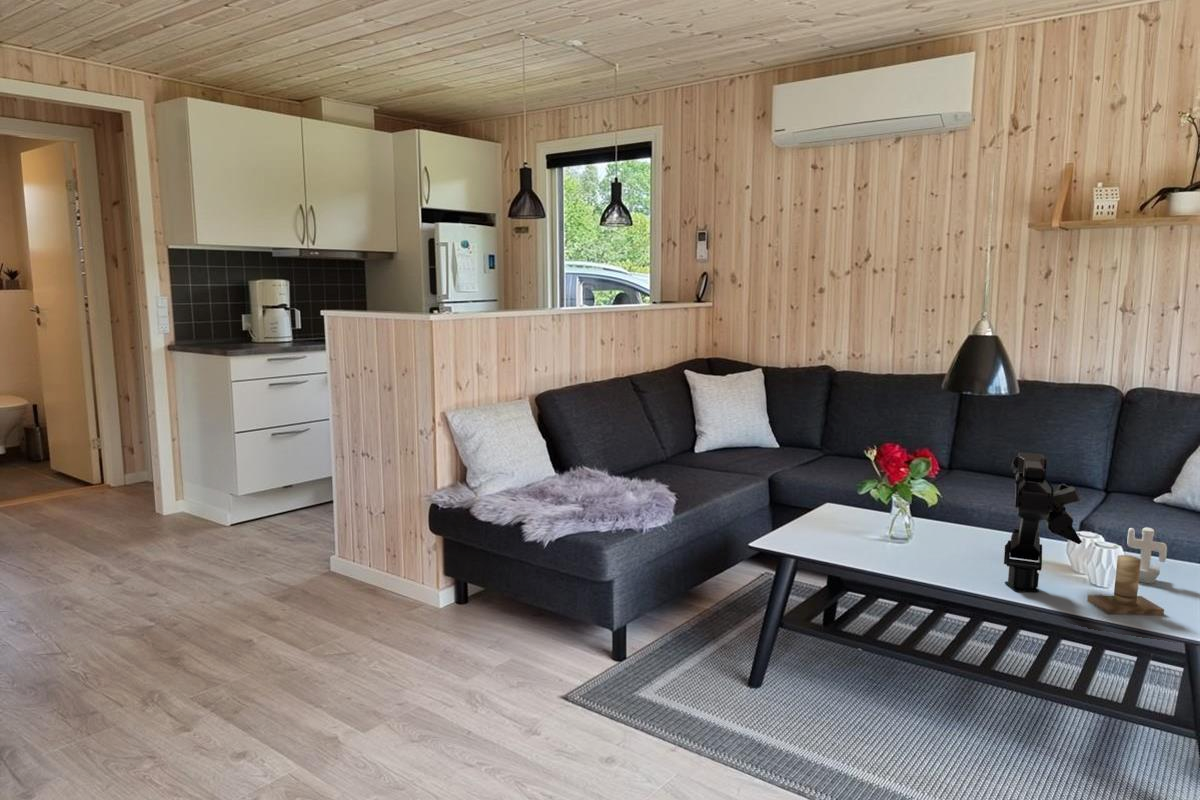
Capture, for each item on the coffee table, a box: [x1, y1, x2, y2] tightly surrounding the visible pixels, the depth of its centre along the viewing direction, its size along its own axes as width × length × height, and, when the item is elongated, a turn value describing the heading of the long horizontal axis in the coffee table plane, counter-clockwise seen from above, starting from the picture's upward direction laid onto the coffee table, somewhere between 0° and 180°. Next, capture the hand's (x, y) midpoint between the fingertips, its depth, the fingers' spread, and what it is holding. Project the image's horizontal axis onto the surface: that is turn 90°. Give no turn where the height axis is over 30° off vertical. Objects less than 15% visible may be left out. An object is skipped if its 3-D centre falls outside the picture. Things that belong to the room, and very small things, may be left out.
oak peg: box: [1113, 554, 1141, 606], centre depth 210 cm, size 5×5×13 cm
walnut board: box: [1087, 594, 1165, 616], centre depth 211 cm, size 14×9×2 cm, turn 89°
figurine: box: [1126, 526, 1168, 585], centre depth 230 cm, size 7×9×15 cm
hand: (1077, 538), depth 224 cm, fingers open, 9 cm apart
